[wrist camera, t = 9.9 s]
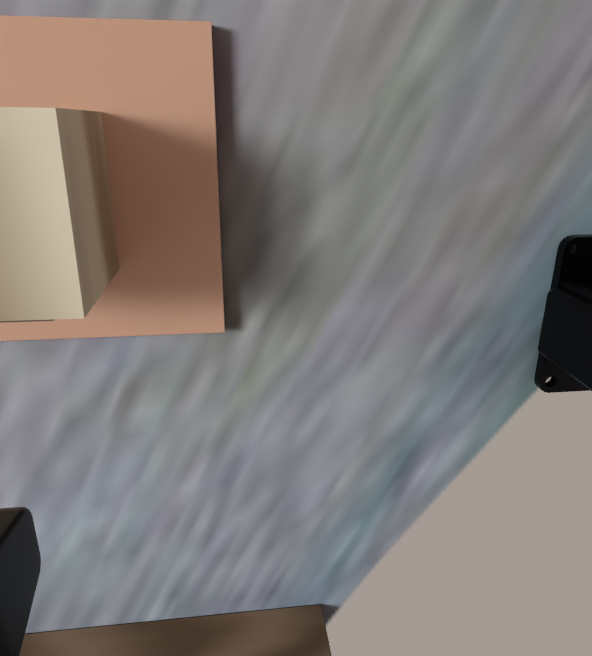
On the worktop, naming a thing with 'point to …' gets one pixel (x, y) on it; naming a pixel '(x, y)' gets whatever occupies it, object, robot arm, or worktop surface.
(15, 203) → the beige cube
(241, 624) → the dark brown wooden bar
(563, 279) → the robot arm
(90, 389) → the worktop surface
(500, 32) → the worktop surface
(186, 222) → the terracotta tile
